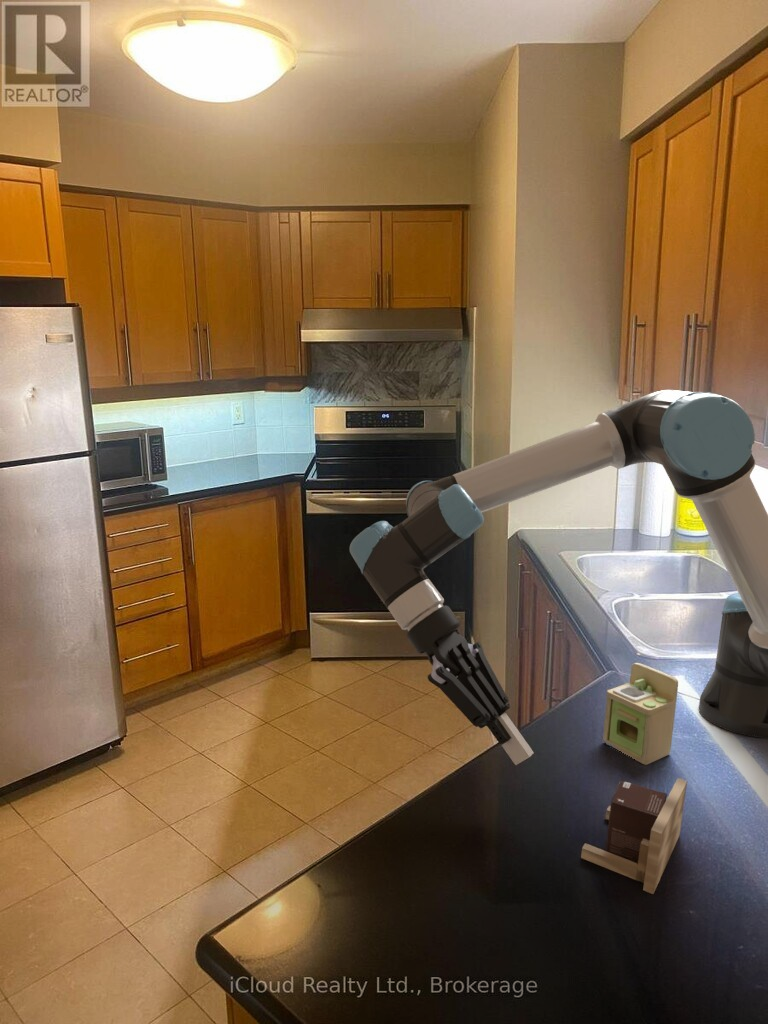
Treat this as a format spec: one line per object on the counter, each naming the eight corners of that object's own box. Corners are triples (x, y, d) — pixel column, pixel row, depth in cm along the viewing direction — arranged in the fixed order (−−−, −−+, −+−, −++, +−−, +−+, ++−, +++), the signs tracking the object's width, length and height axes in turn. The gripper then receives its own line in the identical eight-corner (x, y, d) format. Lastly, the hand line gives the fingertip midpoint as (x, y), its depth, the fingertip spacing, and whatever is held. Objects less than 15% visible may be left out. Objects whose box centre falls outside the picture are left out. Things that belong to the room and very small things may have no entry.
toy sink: (598, 743, 123) (607, 669, 121) (626, 732, 127) (635, 660, 125) (643, 767, 116) (653, 689, 114) (670, 754, 121) (680, 679, 118)
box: (653, 870, 92) (660, 817, 91) (603, 853, 95) (610, 801, 94) (661, 843, 98) (668, 793, 96) (614, 828, 101) (620, 779, 99)
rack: (610, 810, 104) (617, 758, 103) (679, 835, 100) (687, 780, 98) (577, 863, 93) (584, 805, 91) (653, 894, 88) (661, 833, 86)
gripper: (430, 619, 116) (523, 751, 110) (384, 644, 105) (485, 791, 99) (463, 593, 112) (561, 728, 106) (419, 616, 101) (525, 768, 96)
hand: (524, 758), depth 103 cm, fingers closed
